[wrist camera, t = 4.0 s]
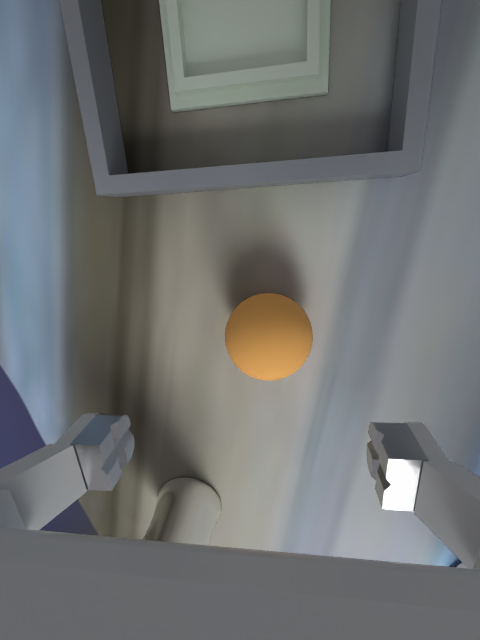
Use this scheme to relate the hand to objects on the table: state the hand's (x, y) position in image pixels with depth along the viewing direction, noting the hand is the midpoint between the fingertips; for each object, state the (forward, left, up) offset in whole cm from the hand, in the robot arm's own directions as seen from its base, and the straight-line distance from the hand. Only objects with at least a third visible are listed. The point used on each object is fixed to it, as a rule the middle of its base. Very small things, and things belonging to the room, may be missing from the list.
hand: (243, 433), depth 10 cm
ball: (0, 0, -10) cm, 10 cm away
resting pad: (+1, -18, -12) cm, 22 cm away
